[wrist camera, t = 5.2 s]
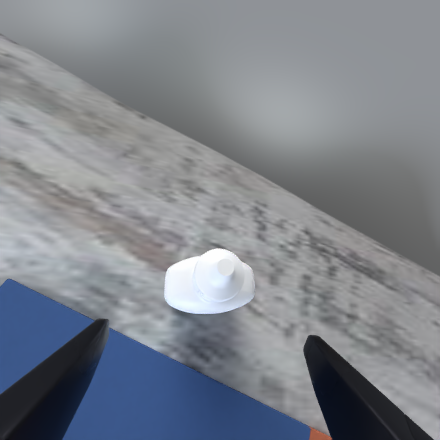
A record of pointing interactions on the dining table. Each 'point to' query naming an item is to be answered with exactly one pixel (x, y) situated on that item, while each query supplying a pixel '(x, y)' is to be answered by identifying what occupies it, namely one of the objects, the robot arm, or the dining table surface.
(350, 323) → the dining table surface
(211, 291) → the eye dropper bottle
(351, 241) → the dining table surface
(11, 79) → the dining table surface
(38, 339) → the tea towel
